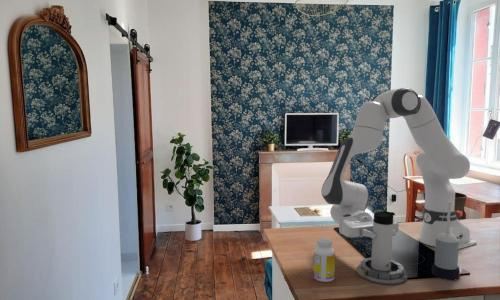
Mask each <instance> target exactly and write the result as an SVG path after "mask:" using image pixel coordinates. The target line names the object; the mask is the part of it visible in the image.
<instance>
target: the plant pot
mask: <svg viewBox="0 0 500 300" xmlns="http://www.w3.org/2000/svg"><path fill="white" fill-rule="evenodd" d="M467 197H468V196H467V195H466V194H464V193H461V192H456V191H455V206H454V210H455V211H461V212H462V213H464V210H465V205H466V202H467ZM457 218H458V220H459V221H460V222H461V218H462V216H458V215H457Z"/></svg>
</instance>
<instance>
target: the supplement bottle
mask: <svg viewBox="0 0 500 300" xmlns="http://www.w3.org/2000/svg"><path fill="white" fill-rule="evenodd" d="M316 244H317V246H315V248H314V250H313V251H314V252H313V276H314V279H315V280H316V281H318V282H322V283H330V282H333V281H334V280H335V276H336V275H335V271H336V269H335V267H336V264H335V263H336V261H335V259H336V251H335V249H334V248H333V247H332V245H333V240H332V239H330V238H326V237H319V238H318V239H317V241H316Z"/></svg>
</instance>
